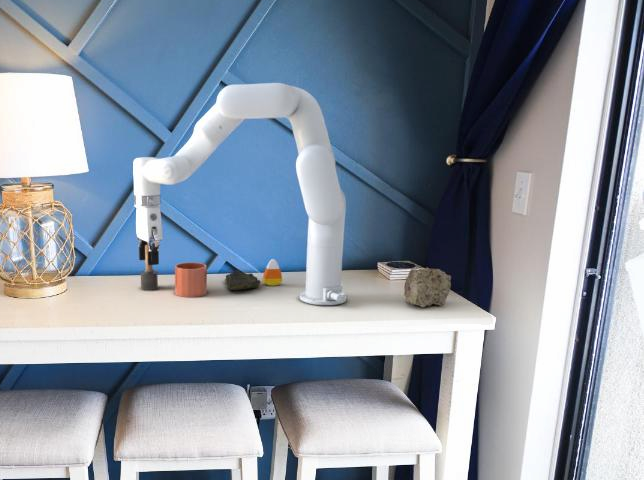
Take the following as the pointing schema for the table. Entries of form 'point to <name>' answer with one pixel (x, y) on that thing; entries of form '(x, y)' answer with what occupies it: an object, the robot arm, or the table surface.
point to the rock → (427, 287)
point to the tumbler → (190, 279)
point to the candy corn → (272, 274)
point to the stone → (241, 280)
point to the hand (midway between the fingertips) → (148, 261)
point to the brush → (149, 275)
